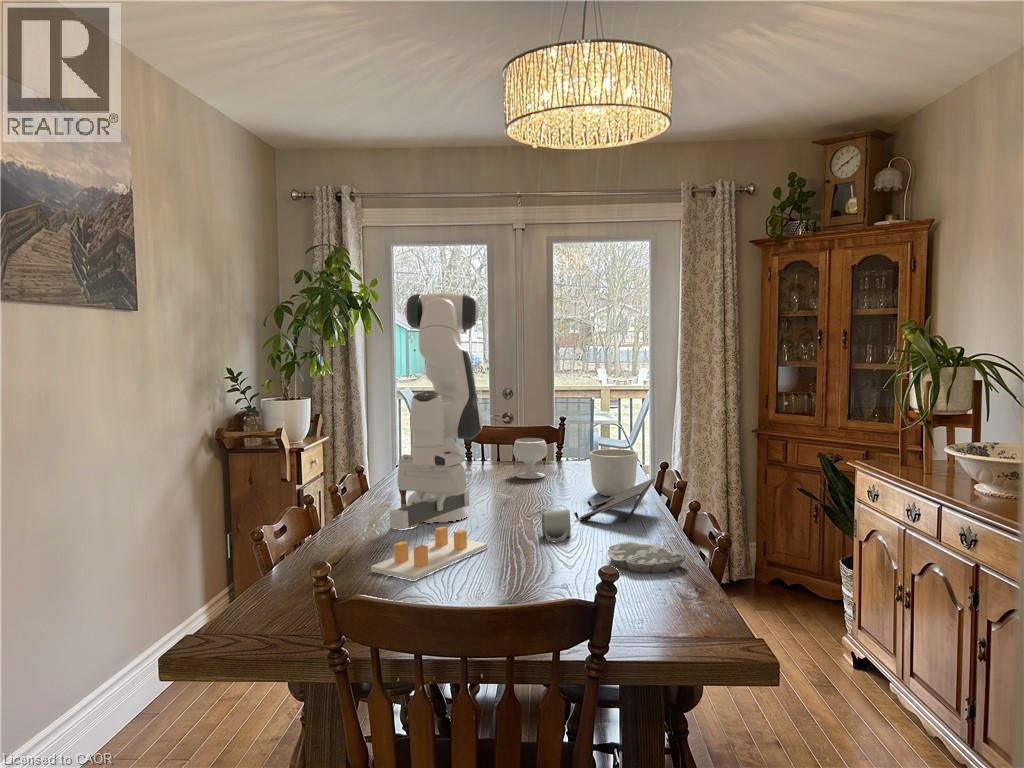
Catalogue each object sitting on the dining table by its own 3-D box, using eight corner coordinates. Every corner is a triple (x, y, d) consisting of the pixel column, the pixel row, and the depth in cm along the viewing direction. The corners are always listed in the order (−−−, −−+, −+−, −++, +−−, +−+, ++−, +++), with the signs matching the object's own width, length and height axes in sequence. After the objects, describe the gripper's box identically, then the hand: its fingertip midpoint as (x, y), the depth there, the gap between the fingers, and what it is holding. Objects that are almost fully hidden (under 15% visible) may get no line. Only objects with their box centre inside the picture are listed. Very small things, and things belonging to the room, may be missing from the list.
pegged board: (370, 572, 176) (370, 548, 175) (446, 541, 201) (446, 520, 200) (414, 582, 168) (413, 557, 167) (487, 548, 193) (487, 527, 193)
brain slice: (590, 565, 179) (590, 553, 179) (630, 549, 191) (630, 539, 191) (656, 583, 165) (656, 571, 165) (695, 565, 177) (695, 554, 177)
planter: (636, 489, 263) (635, 448, 262) (639, 500, 246) (639, 456, 245) (589, 489, 265) (589, 448, 264) (590, 499, 248) (589, 456, 247)
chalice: (507, 475, 293) (507, 439, 292) (538, 472, 299) (537, 436, 298) (522, 481, 280) (521, 443, 279) (553, 478, 286) (553, 441, 285)
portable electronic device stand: (602, 524, 239) (590, 499, 239) (664, 497, 230) (651, 472, 231) (583, 543, 217) (570, 515, 218) (651, 515, 209) (637, 486, 210)
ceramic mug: (542, 532, 208) (542, 506, 208) (570, 532, 208) (570, 506, 207) (541, 543, 198) (540, 516, 197) (570, 543, 197) (570, 516, 196)
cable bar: (390, 527, 173) (389, 511, 173) (457, 504, 195) (456, 489, 195) (402, 529, 171) (402, 512, 170) (469, 505, 193) (468, 490, 193)
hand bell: (397, 532, 211) (396, 478, 210) (386, 526, 218) (384, 474, 217) (423, 527, 216) (421, 475, 215) (411, 521, 223) (409, 471, 222)
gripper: (390, 455, 185) (393, 508, 186) (453, 460, 174) (456, 516, 175) (406, 452, 191) (409, 503, 191) (468, 456, 179) (471, 510, 180)
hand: (432, 509), depth 183 cm, fingers closed on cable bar, 3 cm apart
